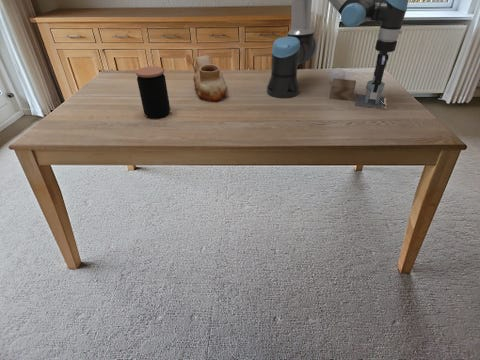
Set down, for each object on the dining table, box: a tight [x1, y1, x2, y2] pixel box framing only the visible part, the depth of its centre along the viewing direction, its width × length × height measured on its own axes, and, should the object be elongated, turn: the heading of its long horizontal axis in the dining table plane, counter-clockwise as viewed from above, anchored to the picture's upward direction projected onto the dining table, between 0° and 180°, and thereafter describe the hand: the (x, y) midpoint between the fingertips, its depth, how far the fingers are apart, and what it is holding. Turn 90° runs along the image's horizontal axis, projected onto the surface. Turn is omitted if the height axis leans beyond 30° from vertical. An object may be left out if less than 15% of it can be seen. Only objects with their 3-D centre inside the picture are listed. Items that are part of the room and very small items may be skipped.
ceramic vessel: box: [192, 54, 228, 103], centre depth 143 cm, size 14×26×15 cm, turn 19°
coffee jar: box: [135, 65, 171, 120], centre depth 123 cm, size 11×11×18 cm
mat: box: [354, 93, 388, 109], centre depth 136 cm, size 13×13×1 cm
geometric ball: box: [328, 67, 347, 84], centre depth 153 cm, size 8×8×8 cm
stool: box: [364, 79, 386, 104], centre depth 134 cm, size 7×7×8 cm
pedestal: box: [329, 78, 357, 102], centre depth 140 cm, size 10×10×6 cm
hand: (372, 95), depth 134 cm, fingers open, 8 cm apart
